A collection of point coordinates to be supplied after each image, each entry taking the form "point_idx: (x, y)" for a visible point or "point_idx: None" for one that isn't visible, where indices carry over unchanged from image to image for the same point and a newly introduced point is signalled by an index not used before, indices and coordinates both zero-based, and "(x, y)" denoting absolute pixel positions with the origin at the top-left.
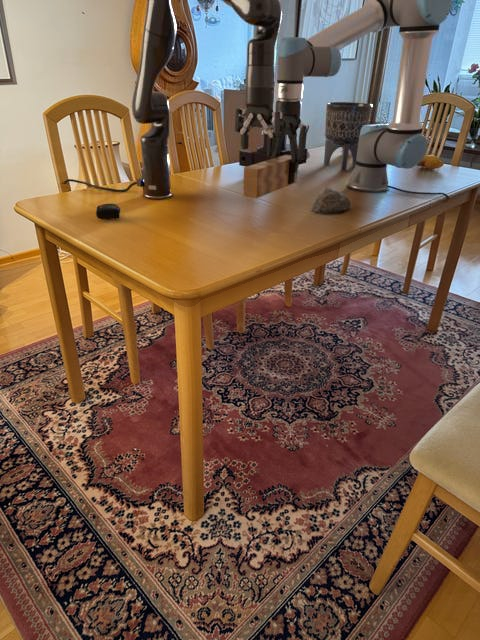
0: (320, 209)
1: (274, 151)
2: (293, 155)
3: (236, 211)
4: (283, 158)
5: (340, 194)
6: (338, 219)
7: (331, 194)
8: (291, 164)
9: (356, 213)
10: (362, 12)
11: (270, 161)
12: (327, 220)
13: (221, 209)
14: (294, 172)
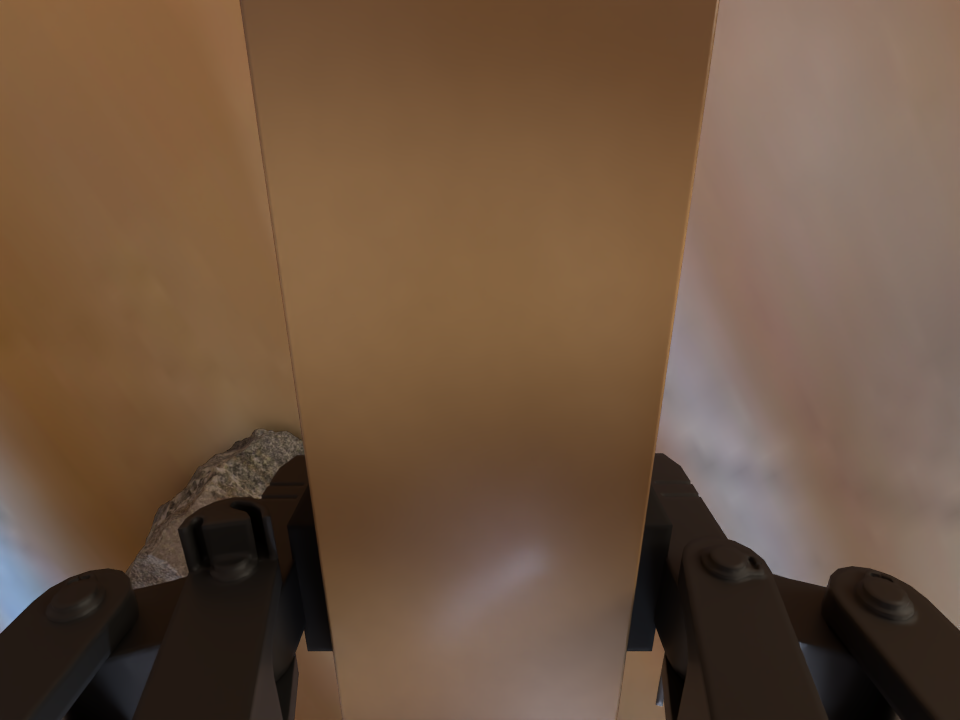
0: (248, 443)
1: (766, 682)
2: (194, 649)
3: (785, 110)
4: (469, 565)
5: None
6: (110, 399)
7: (146, 547)
8: (300, 506)
9: (116, 555)
10: None
11: (543, 32)
12: (143, 339)
13: (926, 75)
14: (297, 461)
